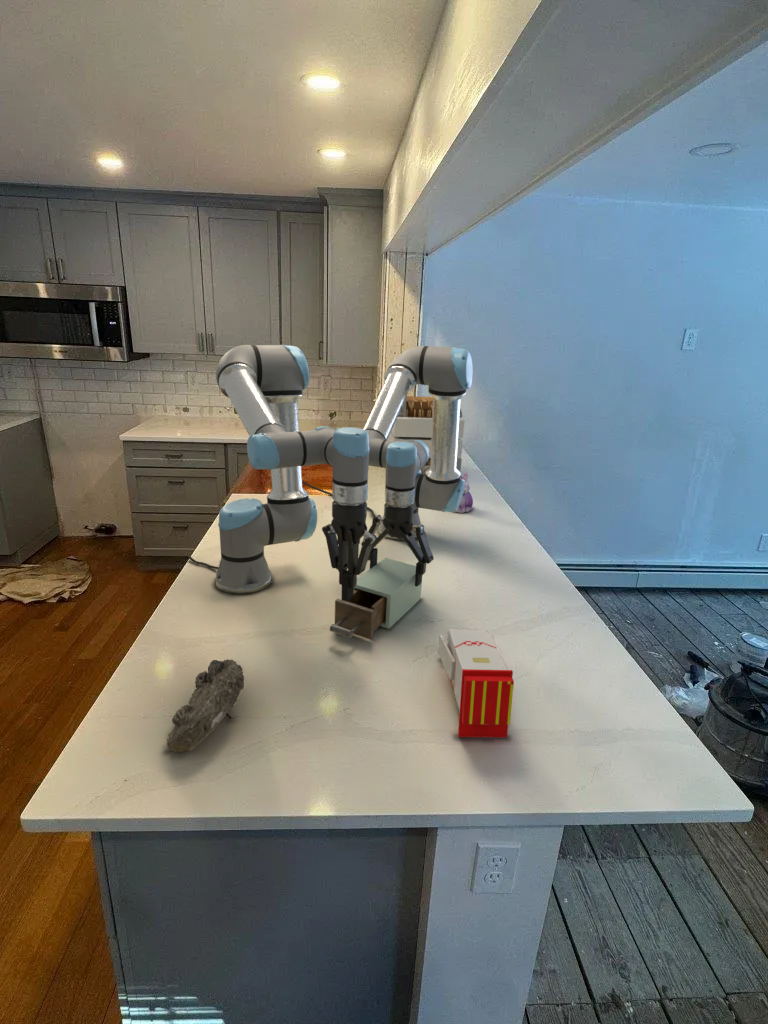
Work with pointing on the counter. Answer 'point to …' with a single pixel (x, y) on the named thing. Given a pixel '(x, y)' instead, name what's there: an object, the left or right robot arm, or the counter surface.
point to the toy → (478, 682)
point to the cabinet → (392, 587)
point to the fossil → (206, 705)
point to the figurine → (465, 497)
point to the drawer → (359, 614)
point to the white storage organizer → (420, 425)
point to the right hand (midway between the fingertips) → (395, 578)
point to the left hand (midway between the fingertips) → (347, 598)
